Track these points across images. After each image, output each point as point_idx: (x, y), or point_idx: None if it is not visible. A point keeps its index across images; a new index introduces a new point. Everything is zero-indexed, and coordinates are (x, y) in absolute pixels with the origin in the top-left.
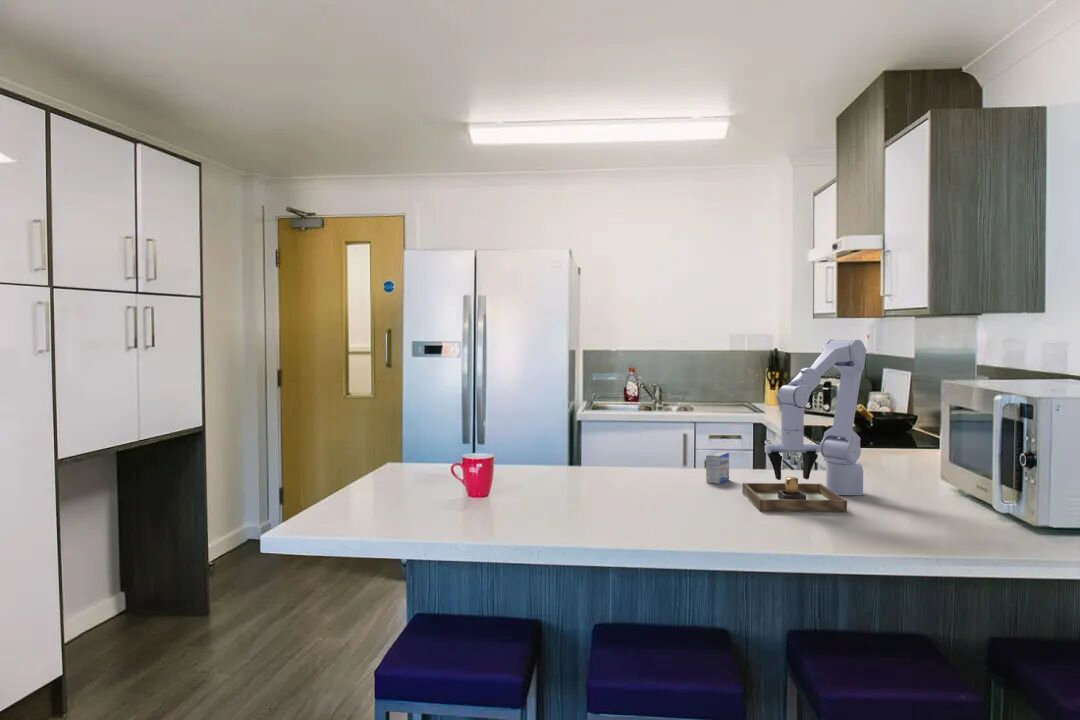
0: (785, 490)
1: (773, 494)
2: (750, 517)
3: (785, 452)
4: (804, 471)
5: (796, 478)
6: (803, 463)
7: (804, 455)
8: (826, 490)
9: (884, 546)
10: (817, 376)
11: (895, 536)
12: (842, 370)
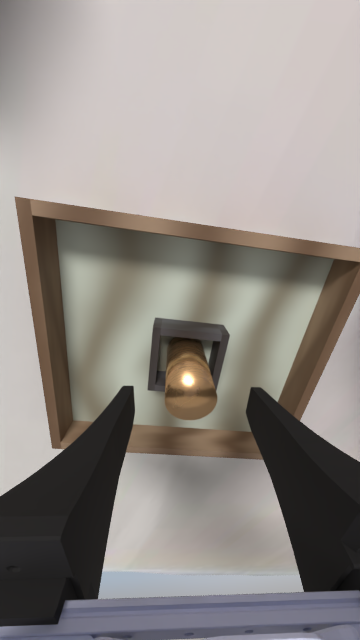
0: (166, 363)
1: (155, 274)
2: (38, 455)
3: (141, 610)
4: (263, 419)
5: (209, 406)
6: (291, 442)
7: (327, 528)
8: (320, 346)
9: (204, 554)
10: None
11: (248, 530)
12: None
